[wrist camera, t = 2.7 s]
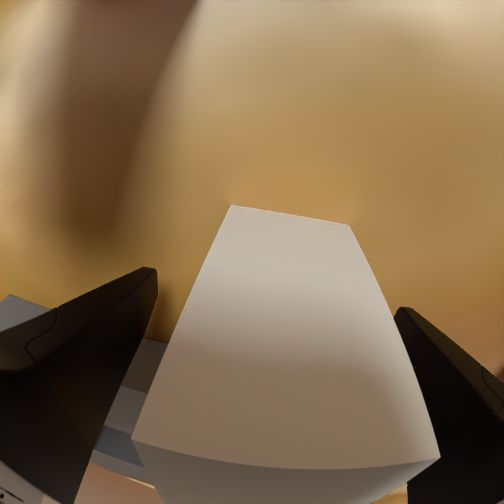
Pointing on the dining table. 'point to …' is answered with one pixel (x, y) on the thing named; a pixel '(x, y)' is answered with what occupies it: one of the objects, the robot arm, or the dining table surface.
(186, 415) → the plug peg
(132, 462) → the socket block
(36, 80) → the dining table surface
